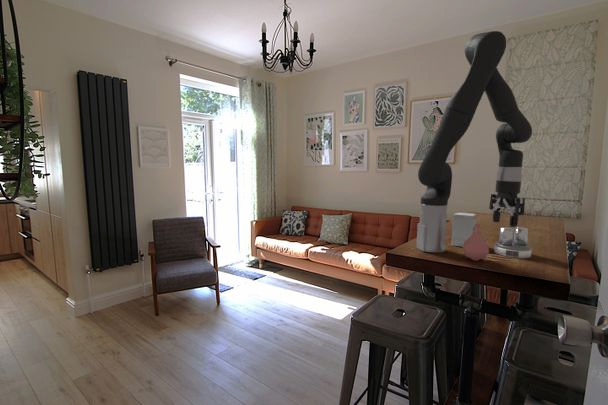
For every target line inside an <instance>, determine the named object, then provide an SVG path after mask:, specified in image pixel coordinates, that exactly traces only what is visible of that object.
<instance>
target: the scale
mask: <svg viewBox="0 0 608 405" xmlns="http://www.w3.org/2000/svg"><path fill="white" fill-rule="evenodd" d="M513 243H514V241H513ZM513 243H512V246H503V245H500V244H499V241H495V244H494V248H493V253H494V254H496V255H500V256H503V257H508V258H514V257H515V258H514V259H528V258H532V250H533V249H532V245H529V244H527V246H518V245H514V244H513Z"/></svg>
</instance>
